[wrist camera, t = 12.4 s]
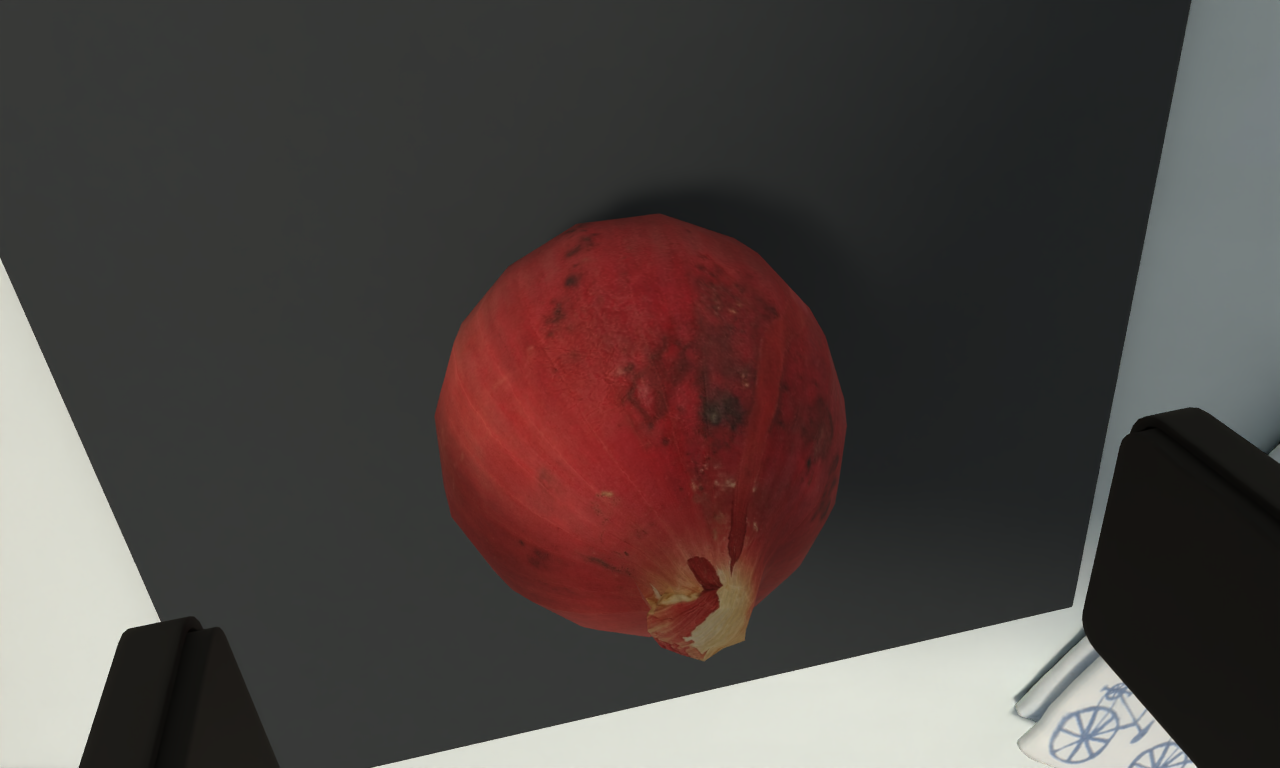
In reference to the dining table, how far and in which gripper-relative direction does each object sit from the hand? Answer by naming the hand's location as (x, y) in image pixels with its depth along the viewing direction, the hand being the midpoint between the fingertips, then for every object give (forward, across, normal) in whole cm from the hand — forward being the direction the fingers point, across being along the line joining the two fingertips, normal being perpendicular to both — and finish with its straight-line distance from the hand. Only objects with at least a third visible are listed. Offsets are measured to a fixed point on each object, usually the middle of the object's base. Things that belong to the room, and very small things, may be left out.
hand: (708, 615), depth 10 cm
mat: (+9, -1, +1) cm, 9 cm away
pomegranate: (+8, 0, +1) cm, 8 cm away
